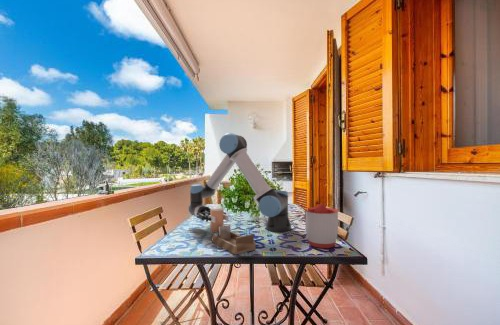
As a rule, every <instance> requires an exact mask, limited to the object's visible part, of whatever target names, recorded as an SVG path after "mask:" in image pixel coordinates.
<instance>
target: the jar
mask: <svg viewBox="0 0 500 325" xmlns="http://www.w3.org/2000/svg"><path fill="white" fill-rule="evenodd" d="M210 209H211V210H210V215H211V216H213V217H215V223H214V222H211V221H209V222H210V232H211V233H219V226H224V225H225V224H224V223H225V222H224V221H225V220H224V211H225V210H224V207H221V206H214V207H210Z"/></svg>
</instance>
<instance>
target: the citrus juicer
mask: <svg viewBox="0 0 500 325" xmlns="http://www.w3.org/2000/svg"><path fill="white" fill-rule="evenodd" d="M338 212H339V210H338V209H336V208H331V207H326V206H325V205H324V204H323V203H319V204H318V205H317V206H315V207H313V206H312V207H307V209H304V215H303V216H302V217H301V220H304V221H305V232H306V233H305V234H306V237H307V241H308V244H309V245H310V246H311V247H315V248H321V249H330V248H333V247H335V246H336V245H335V244H336V242H337V239H338V233H339V213H338Z"/></svg>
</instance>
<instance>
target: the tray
mask: <svg viewBox="0 0 500 325" xmlns="http://www.w3.org/2000/svg"><path fill="white" fill-rule="evenodd" d="M254 236H255V235H254V234H253V233H251V234H247V235H240V234H238V233H235V232H233V231H230V239H225V240H224V239H222V238H220V237H219V235H215V234H212V237H211V238H212V239H211V240H212V243H214V244H215V245H217V246H218V247H221V248H223V249H224V250H226V251H228V252H229V253H232V255H240V254H243V253H248V252H252V251H255V250H256V249H257V248H256V241H255V240H254V239H255V237H254Z"/></svg>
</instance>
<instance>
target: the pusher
mask: <svg viewBox="0 0 500 325" xmlns="http://www.w3.org/2000/svg"><path fill="white" fill-rule="evenodd" d="M230 232H231V224H226V225H225V224H224V226H219V232H218V236H219V237H220V238H222V239H224V240H225V239H230Z"/></svg>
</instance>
